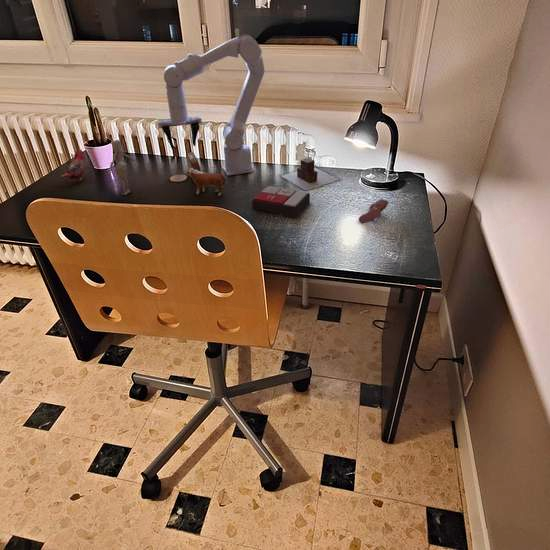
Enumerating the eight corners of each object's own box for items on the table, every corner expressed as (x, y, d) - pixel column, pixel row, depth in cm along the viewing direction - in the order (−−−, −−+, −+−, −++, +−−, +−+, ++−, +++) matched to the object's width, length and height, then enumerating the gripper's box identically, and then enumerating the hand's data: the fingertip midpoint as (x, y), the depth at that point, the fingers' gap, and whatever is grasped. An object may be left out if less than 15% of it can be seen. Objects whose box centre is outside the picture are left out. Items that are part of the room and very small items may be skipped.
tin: (204, 186, 145) (201, 163, 140) (195, 187, 144) (191, 164, 139) (196, 170, 156) (193, 148, 151) (187, 171, 155) (184, 149, 150)
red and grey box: (267, 184, 136) (310, 190, 131) (268, 196, 139) (310, 203, 133) (251, 198, 129) (295, 205, 123) (252, 210, 131) (296, 218, 125)
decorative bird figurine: (93, 173, 155) (85, 146, 149) (69, 194, 141) (60, 166, 135) (85, 173, 155) (77, 146, 149) (61, 194, 141) (51, 165, 135)
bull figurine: (191, 188, 144) (188, 165, 139) (227, 192, 141) (225, 169, 136) (185, 193, 140) (182, 170, 136) (222, 198, 137) (220, 174, 132)
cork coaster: (185, 174, 153) (185, 173, 153) (188, 180, 149) (188, 179, 148) (169, 177, 152) (168, 175, 151) (171, 183, 147) (171, 182, 147)
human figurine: (135, 185, 146) (123, 133, 135) (143, 187, 144) (132, 135, 134) (110, 200, 137) (96, 145, 126) (119, 202, 136) (105, 147, 125)
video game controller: (368, 230, 122) (382, 214, 117) (356, 220, 123) (369, 204, 118) (381, 216, 129) (394, 200, 124) (369, 207, 129) (381, 191, 124)
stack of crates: (339, 179, 148) (341, 160, 144) (305, 190, 141) (306, 171, 137) (313, 166, 158) (313, 148, 154) (280, 175, 151) (280, 157, 147)
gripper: (156, 111, 134) (163, 152, 142) (201, 106, 138) (206, 147, 146) (154, 105, 139) (161, 146, 147) (197, 101, 143) (201, 141, 151)
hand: (183, 146), depth 147 cm, fingers open, 7 cm apart
